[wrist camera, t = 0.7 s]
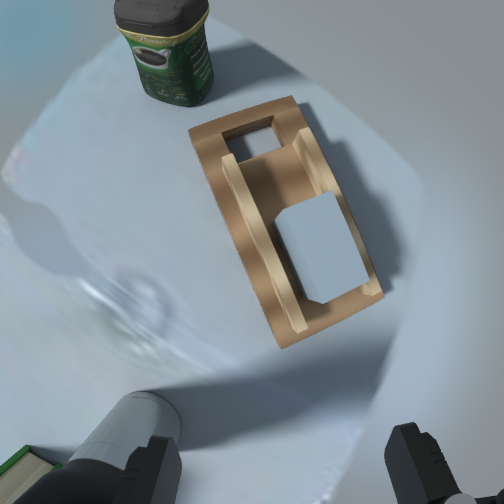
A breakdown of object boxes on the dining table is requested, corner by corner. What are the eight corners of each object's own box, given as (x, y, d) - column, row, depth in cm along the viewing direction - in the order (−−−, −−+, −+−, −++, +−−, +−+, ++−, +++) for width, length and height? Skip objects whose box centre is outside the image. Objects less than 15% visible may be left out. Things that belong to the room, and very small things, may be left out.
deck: (374, 296, 39) (400, 299, 32) (277, 343, 37) (287, 358, 31) (287, 106, 40) (297, 78, 33) (190, 139, 38) (183, 114, 32)
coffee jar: (221, 73, 40) (220, -25, 21) (195, 115, 39) (178, 19, 20) (164, 56, 39) (141, -35, 21) (136, 96, 38) (95, 8, 20)
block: (340, 279, 36) (369, 280, 28) (302, 297, 35) (323, 303, 27) (310, 207, 36) (331, 190, 28) (271, 223, 35) (283, 209, 27)
